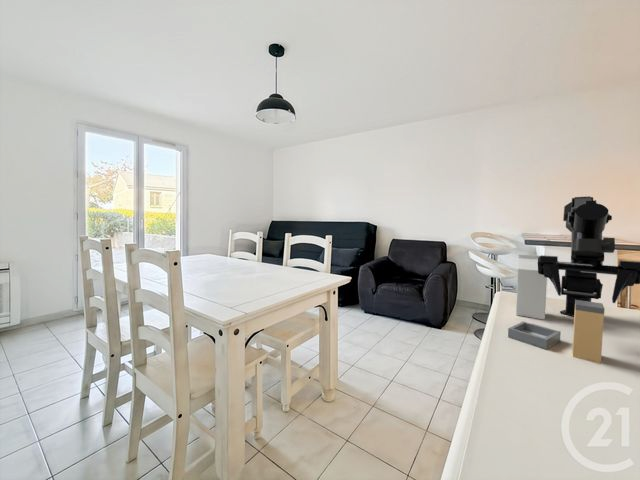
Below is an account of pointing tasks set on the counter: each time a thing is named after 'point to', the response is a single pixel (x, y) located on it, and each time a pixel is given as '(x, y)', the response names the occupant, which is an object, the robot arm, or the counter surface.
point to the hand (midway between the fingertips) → (585, 298)
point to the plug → (588, 330)
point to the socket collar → (534, 335)
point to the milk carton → (530, 288)
